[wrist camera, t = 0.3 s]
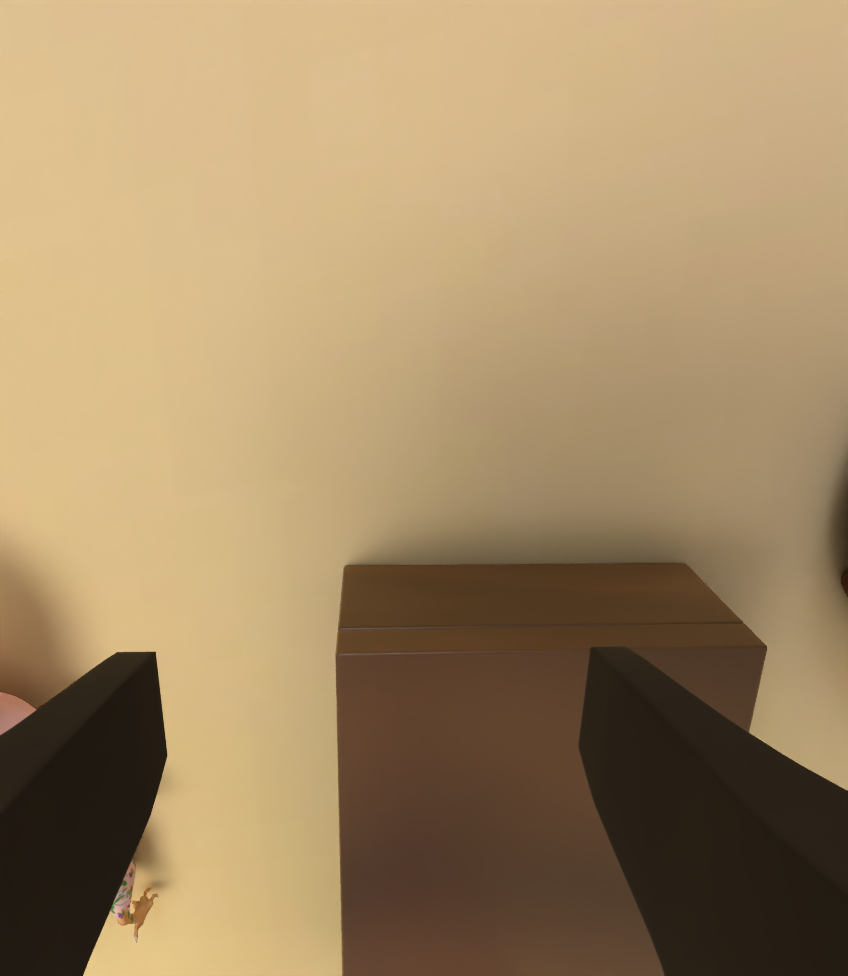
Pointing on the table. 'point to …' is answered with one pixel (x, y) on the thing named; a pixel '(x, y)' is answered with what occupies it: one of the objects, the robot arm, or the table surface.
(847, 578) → the scroll
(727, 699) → the wooden cubby shelf
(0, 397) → the table surface
